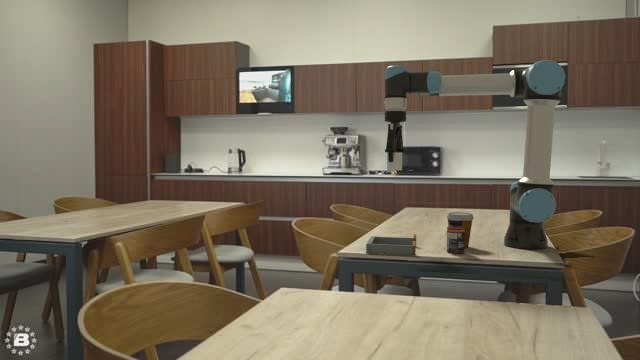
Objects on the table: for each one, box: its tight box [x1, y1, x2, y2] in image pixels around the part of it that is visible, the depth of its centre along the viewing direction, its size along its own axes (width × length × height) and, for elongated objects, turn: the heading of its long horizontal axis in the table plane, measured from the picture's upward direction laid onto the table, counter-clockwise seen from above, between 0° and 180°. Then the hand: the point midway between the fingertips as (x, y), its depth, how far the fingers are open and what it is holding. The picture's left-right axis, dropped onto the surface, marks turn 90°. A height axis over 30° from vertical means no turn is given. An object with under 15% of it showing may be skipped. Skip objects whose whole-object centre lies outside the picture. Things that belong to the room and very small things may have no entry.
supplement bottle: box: [446, 219, 466, 255], centre depth 197 cm, size 6×6×11 cm
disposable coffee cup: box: [446, 211, 475, 249], centre depth 210 cm, size 10×10×12 cm
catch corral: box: [365, 233, 417, 256], centre depth 202 cm, size 16×18×4 cm
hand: (394, 171), depth 207 cm, fingers open, 13 cm apart
